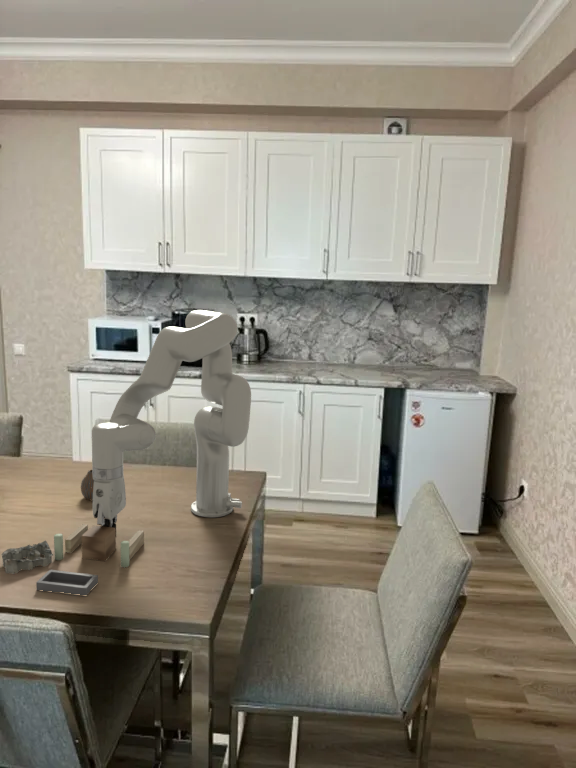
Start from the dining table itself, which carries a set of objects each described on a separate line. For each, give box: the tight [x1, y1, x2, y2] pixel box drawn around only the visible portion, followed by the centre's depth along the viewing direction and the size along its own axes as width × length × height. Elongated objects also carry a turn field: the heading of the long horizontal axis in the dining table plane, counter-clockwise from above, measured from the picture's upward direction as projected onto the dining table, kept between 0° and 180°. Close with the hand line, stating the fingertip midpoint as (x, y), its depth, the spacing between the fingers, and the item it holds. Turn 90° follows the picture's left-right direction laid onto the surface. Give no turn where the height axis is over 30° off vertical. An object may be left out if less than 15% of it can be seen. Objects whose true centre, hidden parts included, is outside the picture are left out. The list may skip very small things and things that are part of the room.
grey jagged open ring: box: [1, 540, 54, 575], centre depth 138 cm, size 11×8×4 cm
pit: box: [35, 569, 99, 596], centre depth 129 cm, size 12×6×2 cm, turn 82°
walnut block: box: [81, 524, 117, 562], centre depth 143 cm, size 6×6×6 cm
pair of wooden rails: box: [64, 523, 145, 561], centre depth 147 cm, size 17×9×4 cm, turn 82°
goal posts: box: [53, 533, 130, 569], centre depth 139 cm, size 19×2×6 cm, turn 82°
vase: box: [80, 469, 94, 501], centre depth 177 cm, size 7×7×9 cm
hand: (109, 538), depth 149 cm, fingers closed
